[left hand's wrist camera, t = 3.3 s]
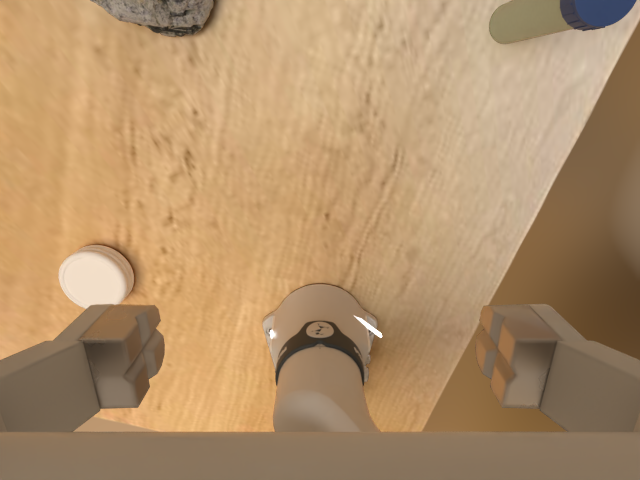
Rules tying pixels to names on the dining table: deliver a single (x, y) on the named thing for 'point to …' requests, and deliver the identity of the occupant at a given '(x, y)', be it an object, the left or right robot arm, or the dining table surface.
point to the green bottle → (526, 20)
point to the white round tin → (96, 276)
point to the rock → (161, 14)
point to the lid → (594, 12)
